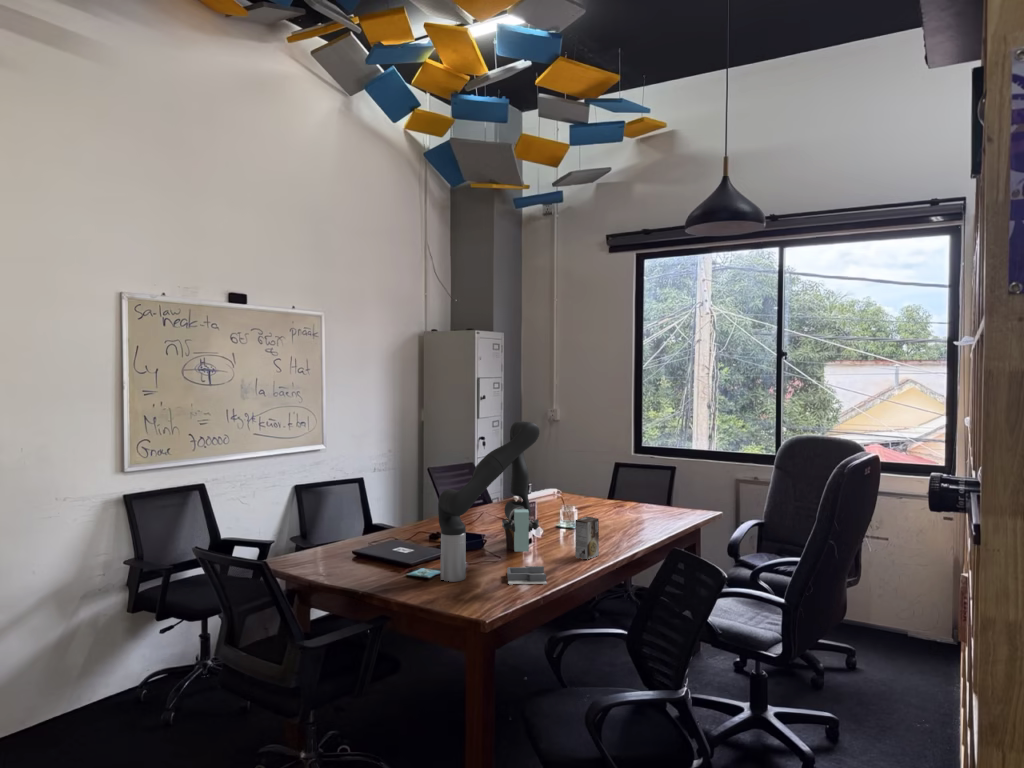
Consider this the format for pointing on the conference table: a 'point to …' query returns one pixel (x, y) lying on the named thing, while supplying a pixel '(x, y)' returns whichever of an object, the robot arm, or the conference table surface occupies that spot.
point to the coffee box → (586, 537)
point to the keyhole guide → (526, 575)
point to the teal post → (521, 530)
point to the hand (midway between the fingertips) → (521, 529)
